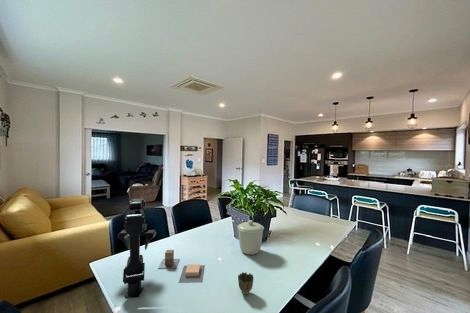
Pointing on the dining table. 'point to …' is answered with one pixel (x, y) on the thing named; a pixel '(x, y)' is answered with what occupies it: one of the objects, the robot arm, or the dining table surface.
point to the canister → (250, 237)
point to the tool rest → (163, 266)
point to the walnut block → (169, 257)
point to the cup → (245, 282)
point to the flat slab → (192, 270)
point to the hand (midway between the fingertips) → (137, 249)
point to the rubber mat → (192, 278)
